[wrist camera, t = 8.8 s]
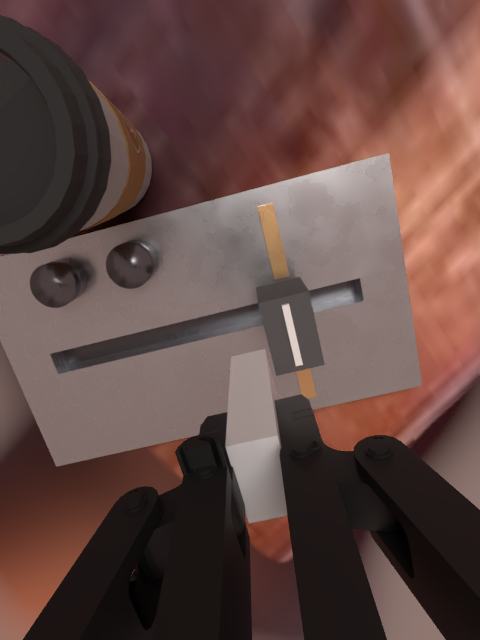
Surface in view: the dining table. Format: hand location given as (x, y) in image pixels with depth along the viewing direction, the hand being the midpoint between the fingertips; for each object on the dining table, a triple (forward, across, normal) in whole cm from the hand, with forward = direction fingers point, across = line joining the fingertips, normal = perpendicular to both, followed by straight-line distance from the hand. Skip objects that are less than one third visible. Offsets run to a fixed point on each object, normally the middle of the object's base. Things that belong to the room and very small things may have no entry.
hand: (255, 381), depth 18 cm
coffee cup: (+14, -7, +12) cm, 19 cm away
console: (+13, -3, 0) cm, 14 cm away
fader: (+13, +2, 0) cm, 13 cm away
